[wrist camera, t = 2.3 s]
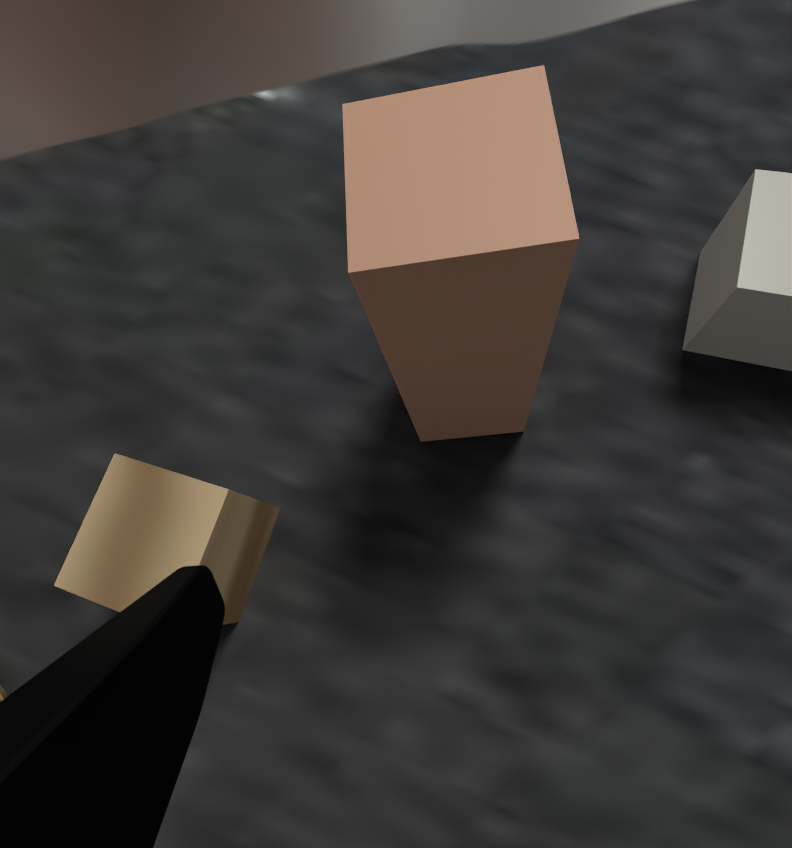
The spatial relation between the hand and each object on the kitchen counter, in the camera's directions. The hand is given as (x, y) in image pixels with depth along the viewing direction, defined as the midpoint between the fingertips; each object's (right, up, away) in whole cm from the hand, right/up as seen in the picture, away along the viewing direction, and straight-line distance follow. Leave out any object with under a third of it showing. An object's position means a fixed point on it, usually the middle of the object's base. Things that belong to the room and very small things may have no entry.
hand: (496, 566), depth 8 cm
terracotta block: (+2, +4, +15) cm, 16 cm away
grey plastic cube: (+14, +7, +14) cm, 21 cm away
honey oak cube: (-10, -3, +15) cm, 18 cm away
